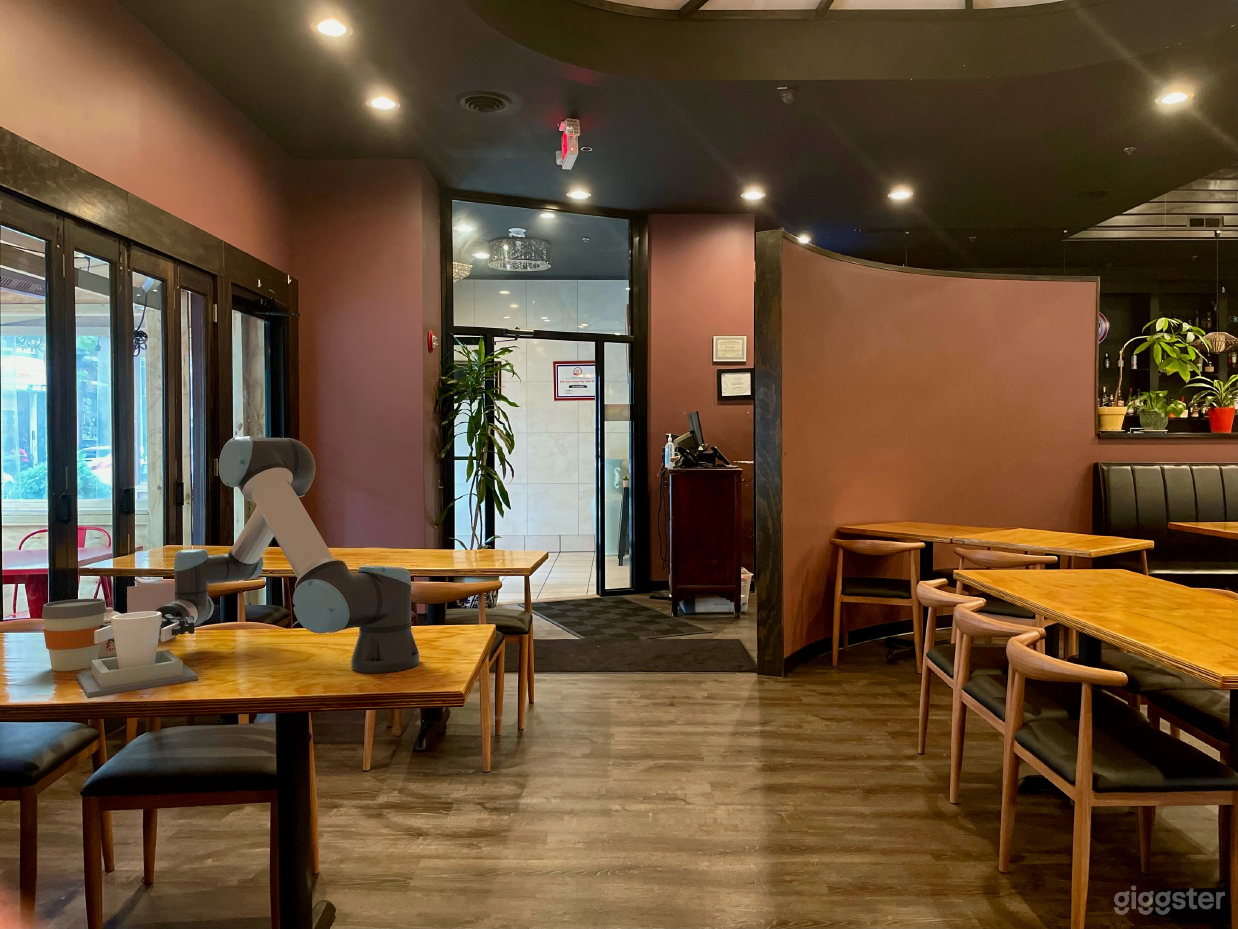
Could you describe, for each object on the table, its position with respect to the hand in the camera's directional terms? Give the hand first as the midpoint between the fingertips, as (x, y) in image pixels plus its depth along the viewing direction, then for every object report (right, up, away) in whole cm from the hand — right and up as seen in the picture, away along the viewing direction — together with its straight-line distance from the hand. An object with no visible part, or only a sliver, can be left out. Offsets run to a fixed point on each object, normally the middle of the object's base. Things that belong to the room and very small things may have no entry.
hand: (129, 636), depth 170 cm
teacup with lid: (-22, -11, +29) cm, 38 cm away
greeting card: (-22, -11, +45) cm, 51 cm away
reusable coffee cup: (-23, -11, +16) cm, 29 cm away
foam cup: (0, -9, +3) cm, 10 cm away
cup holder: (0, -10, +3) cm, 10 cm away
